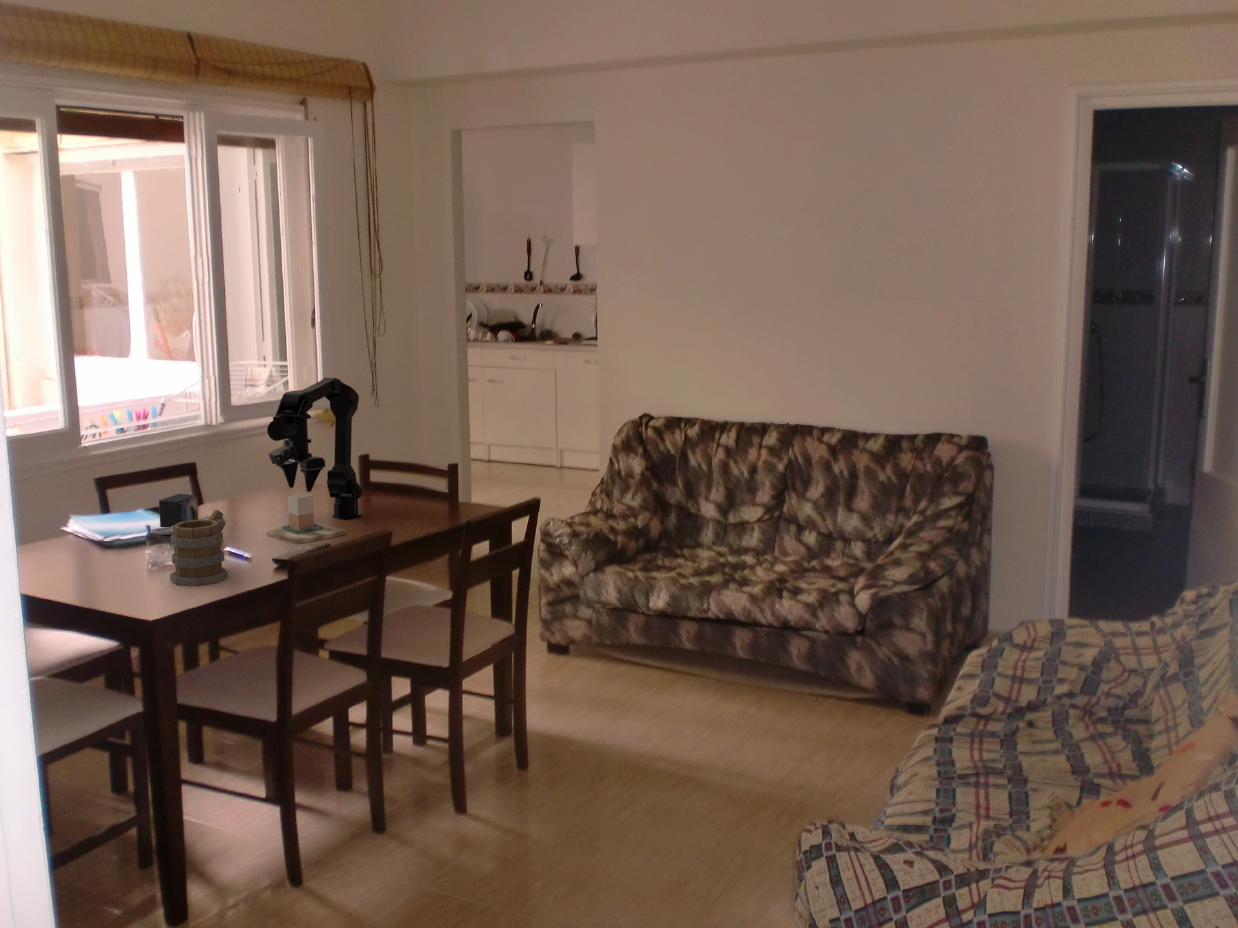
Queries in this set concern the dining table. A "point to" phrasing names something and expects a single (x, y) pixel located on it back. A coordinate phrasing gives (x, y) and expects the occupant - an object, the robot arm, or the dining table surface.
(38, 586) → the dining table surface
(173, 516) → the small box
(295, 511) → the cream block
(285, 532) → the base plate
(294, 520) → the terracotta block
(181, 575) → the tankard
